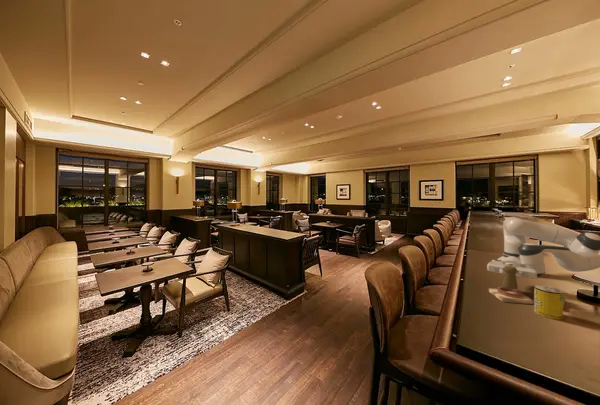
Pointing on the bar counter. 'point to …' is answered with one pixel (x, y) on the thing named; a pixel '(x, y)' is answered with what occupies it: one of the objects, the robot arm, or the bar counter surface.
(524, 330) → the bar counter surface
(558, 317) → the yellow can
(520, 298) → the square base with ring
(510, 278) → the cork
